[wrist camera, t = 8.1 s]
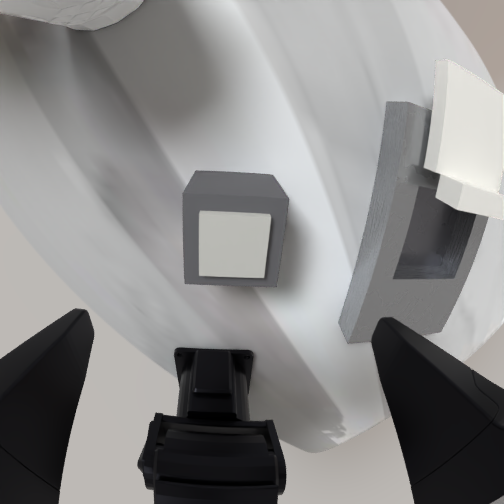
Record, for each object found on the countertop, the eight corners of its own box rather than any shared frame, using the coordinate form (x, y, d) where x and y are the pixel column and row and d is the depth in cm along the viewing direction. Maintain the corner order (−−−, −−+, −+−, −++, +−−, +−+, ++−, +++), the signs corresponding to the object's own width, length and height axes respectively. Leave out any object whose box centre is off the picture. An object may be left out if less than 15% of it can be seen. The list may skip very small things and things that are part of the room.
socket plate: (428, 315, 23) (440, 332, 21) (338, 322, 22) (347, 343, 20) (482, 139, 15) (503, 145, 13) (386, 101, 14) (408, 101, 12)
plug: (265, 243, 19) (277, 291, 14) (194, 240, 18) (183, 288, 13) (272, 174, 16) (290, 201, 12) (195, 170, 16) (181, 195, 11)
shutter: (483, 205, 15) (512, 222, 12) (418, 190, 14) (452, 208, 12) (499, 98, 11) (532, 104, 9) (435, 60, 11) (471, 57, 8)
